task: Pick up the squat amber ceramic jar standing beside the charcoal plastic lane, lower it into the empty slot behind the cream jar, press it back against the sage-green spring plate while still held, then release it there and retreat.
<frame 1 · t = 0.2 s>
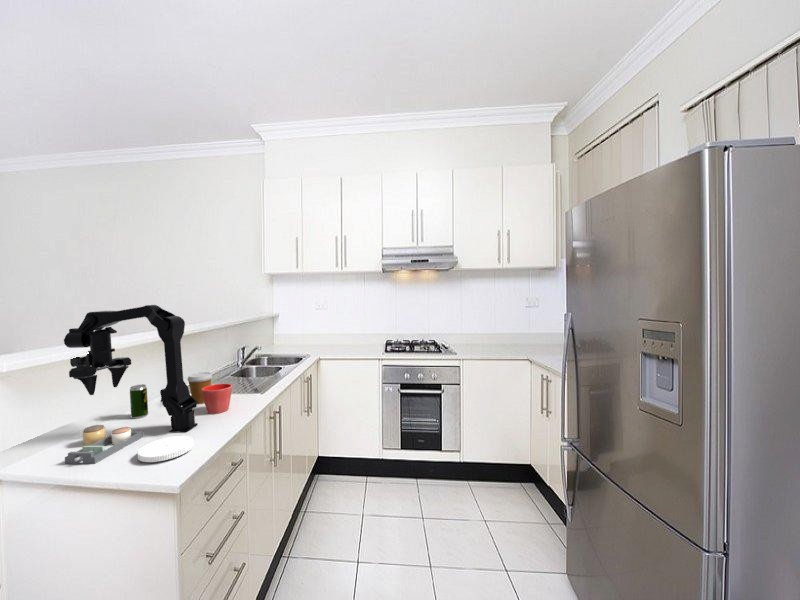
hand: (103, 390, 125), 14 cm above the countertop, fingers open, 9 cm apart
beer can: (139, 417, 138), on the countertop
cream jar: (121, 441, 115), resting in lane
disposable coffee cup: (201, 402, 154), on the countertop
amber jar: (94, 442, 115), on the countertop
plastic lid: (166, 454, 107), on the countertop
flower pot: (218, 411, 143), on the countertop
pusher: (85, 454, 103), point 2 cm above the countertop, slide at 0.0 cm
lane: (107, 449, 110), on the countertop
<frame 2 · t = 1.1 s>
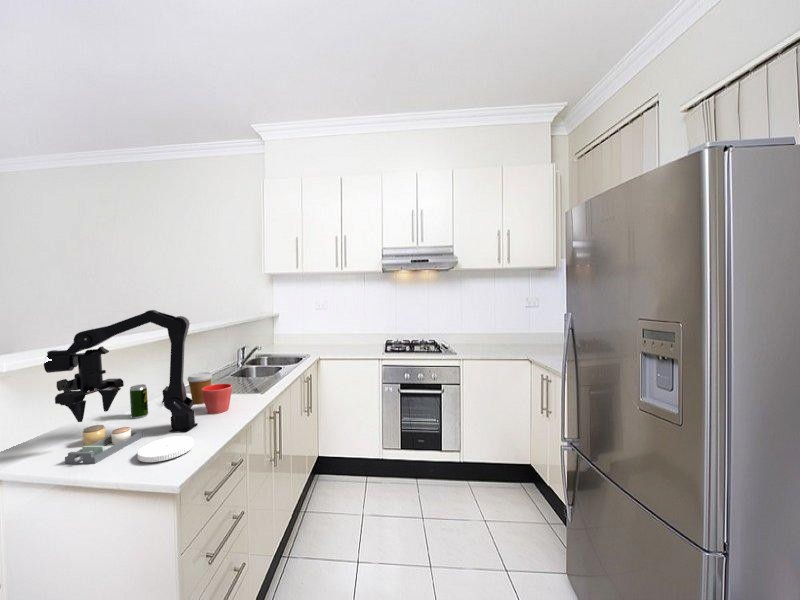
hand: (93, 416, 115), 9 cm above the countertop, fingers open, 9 cm apart
nothing on the countertop moved.
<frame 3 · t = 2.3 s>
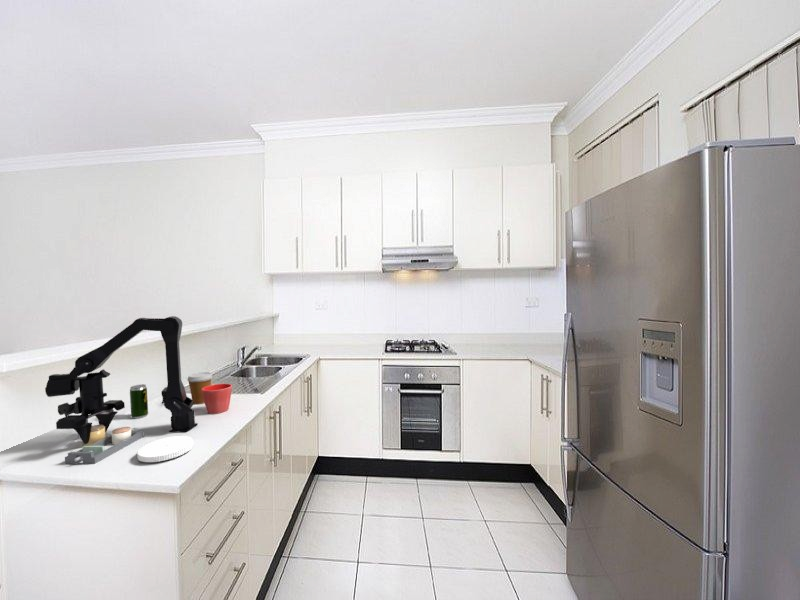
hand: (94, 439, 115), 1 cm above the countertop, fingers closed on amber jar, 5 cm apart
amber jar: (94, 442, 115), on the countertop, touching gripper
everything else where it was.
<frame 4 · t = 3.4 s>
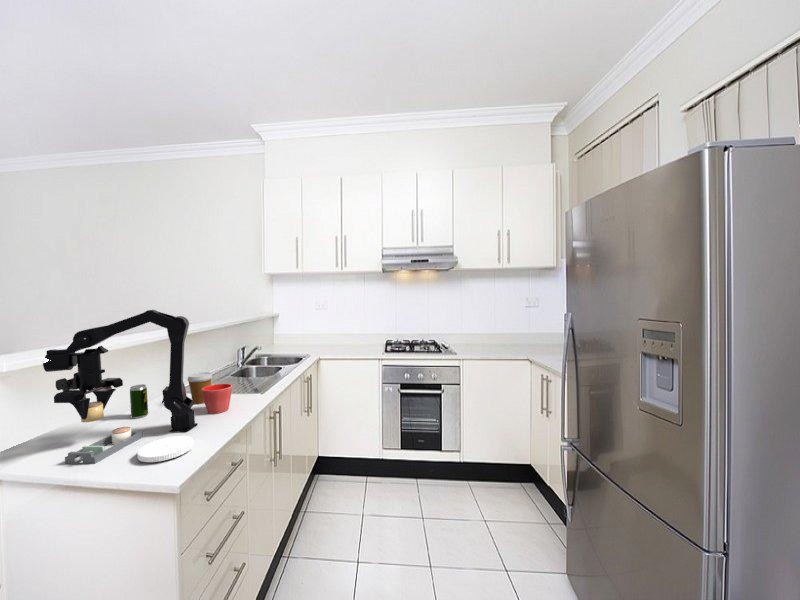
hand: (92, 415, 115), 9 cm above the countertop, fingers closed on amber jar, 5 cm apart
amber jar: (92, 419, 115), point 8 cm above the countertop, touching gripper
everything else where it was.
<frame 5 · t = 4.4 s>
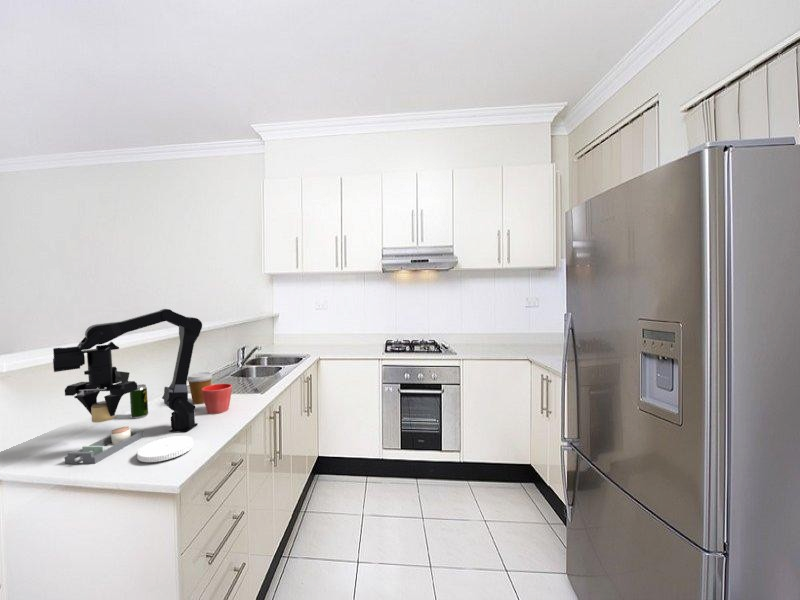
hand: (103, 415, 109), 11 cm above the countertop, fingers closed on amber jar, 5 cm apart
amber jar: (103, 419, 109), point 10 cm above the countertop, touching gripper
everything else where it was.
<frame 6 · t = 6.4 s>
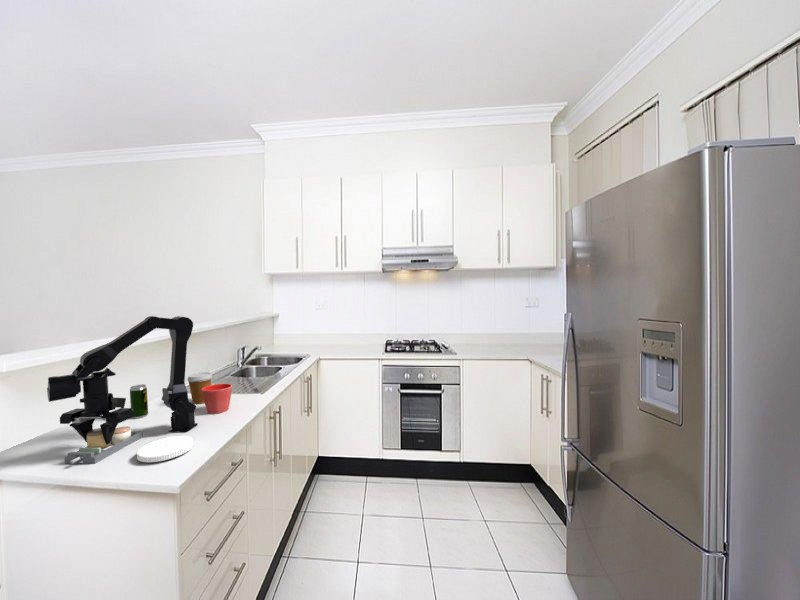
hand: (99, 443, 107), 3 cm above the countertop, fingers closed on amber jar, 5 cm apart
amber jar: (99, 446, 107), point 2 cm above the countertop, touching gripper, pusher
pusher: (81, 456, 102), point 2 cm above the countertop, slide at 1.1 cm, touching amber jar
everything else where it was.
when the fingers open (3 cm above the countertop, at t = 6.5 s): amber jar drops 2 cm, resting in lane.
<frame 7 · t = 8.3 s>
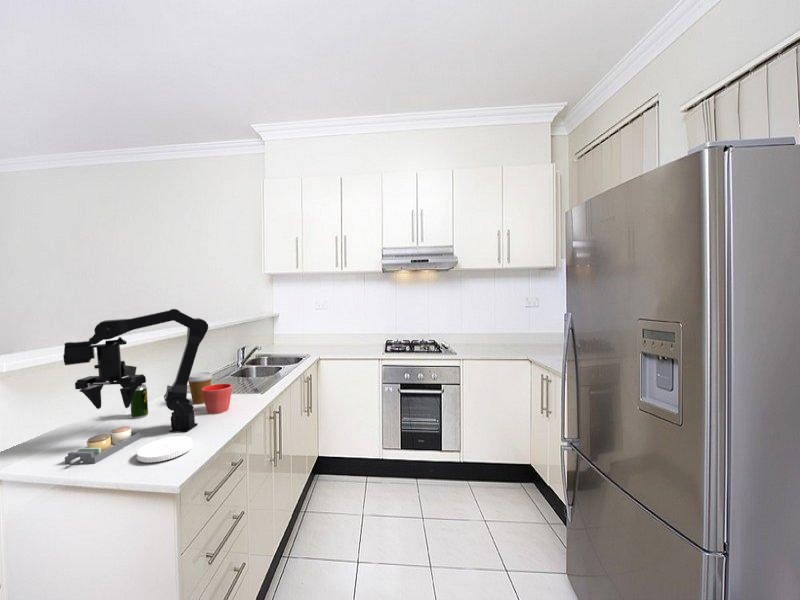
hand: (113, 408, 113), 12 cm above the countertop, fingers open, 9 cm apart
amber jar: (100, 453, 107), resting in lane
pusher: (81, 456, 102), point 2 cm above the countertop, slide at 1.2 cm
everything else where it was.
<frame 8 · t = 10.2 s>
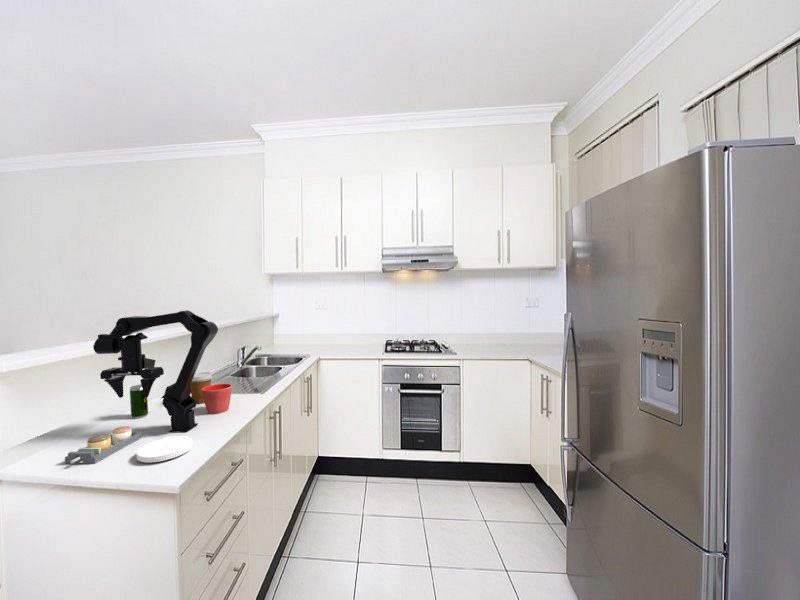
hand: (133, 397, 123), 12 cm above the countertop, fingers open, 9 cm apart
nothing on the countertop moved.
at the end: amber jar 1.2 cm from the target spot, resting in lane; amber jar tilted 1°; the gripper is holding nothing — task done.
